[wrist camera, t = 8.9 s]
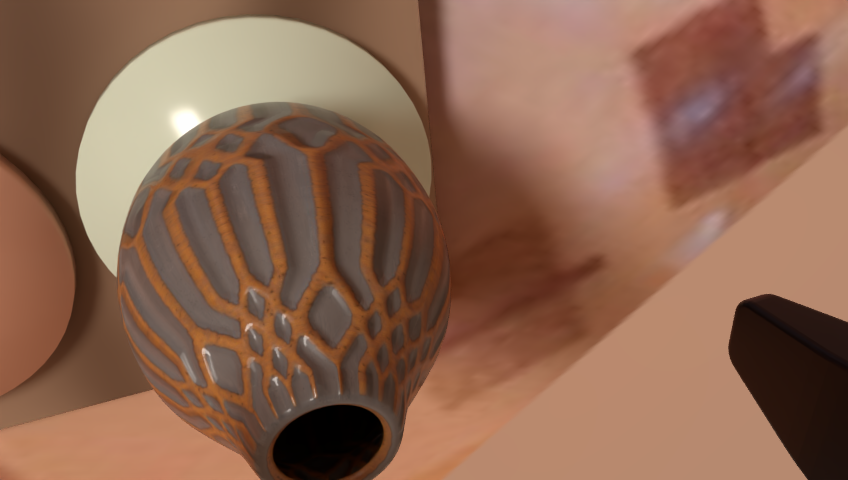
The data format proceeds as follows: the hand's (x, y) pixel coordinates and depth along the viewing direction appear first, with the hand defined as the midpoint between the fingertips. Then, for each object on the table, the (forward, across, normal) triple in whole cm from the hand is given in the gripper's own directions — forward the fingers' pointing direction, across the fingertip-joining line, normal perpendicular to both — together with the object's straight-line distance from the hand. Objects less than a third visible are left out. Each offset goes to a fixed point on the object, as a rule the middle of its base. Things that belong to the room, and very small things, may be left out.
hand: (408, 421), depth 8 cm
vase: (+11, +1, +2) cm, 11 cm away
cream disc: (+11, +1, +2) cm, 12 cm away
